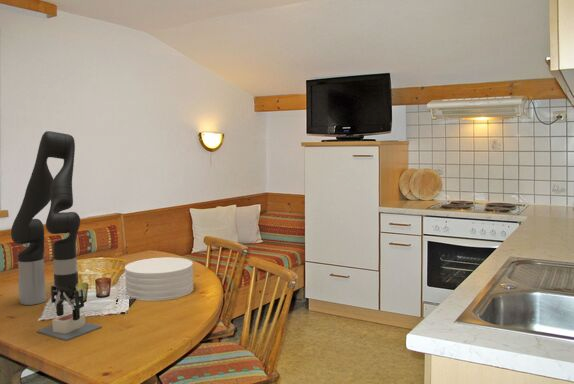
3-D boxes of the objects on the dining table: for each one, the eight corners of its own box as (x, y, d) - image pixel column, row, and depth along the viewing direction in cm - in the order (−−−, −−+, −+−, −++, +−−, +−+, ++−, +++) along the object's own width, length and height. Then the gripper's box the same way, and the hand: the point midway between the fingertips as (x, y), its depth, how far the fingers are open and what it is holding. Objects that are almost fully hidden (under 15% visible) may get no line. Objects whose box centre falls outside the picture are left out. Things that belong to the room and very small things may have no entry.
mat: (36, 331, 182) (36, 330, 182) (71, 319, 193) (71, 318, 193) (66, 340, 173) (66, 339, 173) (101, 327, 185) (101, 326, 185)
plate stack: (114, 290, 230) (113, 264, 229) (172, 278, 249) (172, 254, 248) (144, 305, 209) (143, 277, 208) (205, 291, 228) (205, 265, 227)
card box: (73, 323, 189) (72, 311, 188) (85, 325, 186) (84, 313, 186) (52, 331, 180) (52, 319, 180) (65, 333, 178) (64, 322, 178)
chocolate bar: (135, 298, 216) (123, 313, 199) (136, 300, 217) (123, 315, 199) (113, 298, 216) (99, 313, 198) (113, 301, 216) (99, 316, 198)
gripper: (88, 271, 181) (91, 318, 182) (62, 266, 188) (64, 311, 190) (69, 276, 174) (72, 324, 176) (42, 270, 182) (45, 317, 183)
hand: (68, 317), depth 183 cm, fingers open, 8 cm apart
